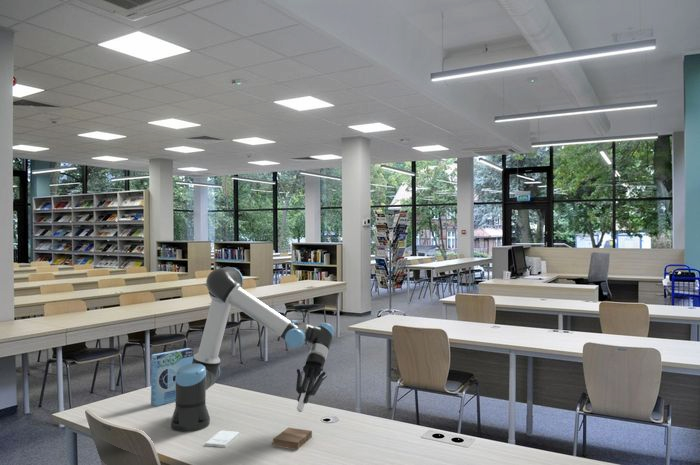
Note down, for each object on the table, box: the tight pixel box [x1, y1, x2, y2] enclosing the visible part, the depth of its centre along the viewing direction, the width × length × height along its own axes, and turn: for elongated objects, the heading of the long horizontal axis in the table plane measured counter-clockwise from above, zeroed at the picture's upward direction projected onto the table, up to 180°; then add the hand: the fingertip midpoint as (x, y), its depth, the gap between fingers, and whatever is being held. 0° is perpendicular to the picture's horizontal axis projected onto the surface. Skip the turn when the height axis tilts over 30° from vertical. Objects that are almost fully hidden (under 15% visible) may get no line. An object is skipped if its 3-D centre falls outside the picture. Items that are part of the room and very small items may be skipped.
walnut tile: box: [272, 427, 313, 450], centre depth 184 cm, size 3×10×12 cm
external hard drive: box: [204, 429, 240, 448], centre depth 186 cm, size 2×8×12 cm
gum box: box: [150, 347, 194, 407], centre depth 233 cm, size 20×5×23 cm, turn 141°
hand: (299, 410), depth 189 cm, fingers closed
